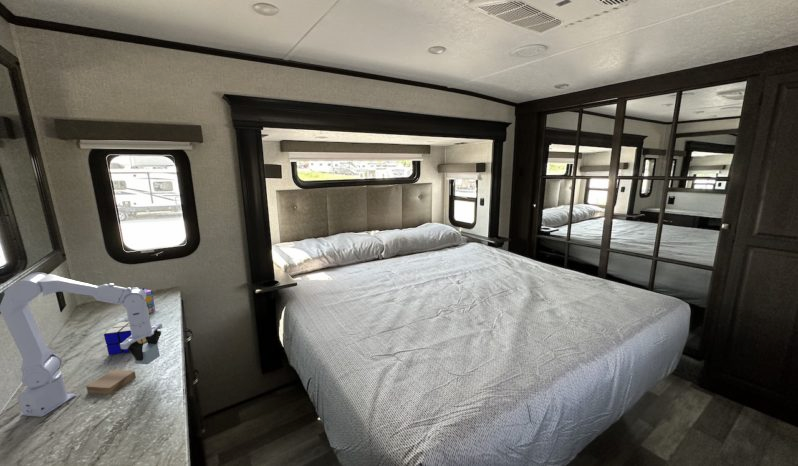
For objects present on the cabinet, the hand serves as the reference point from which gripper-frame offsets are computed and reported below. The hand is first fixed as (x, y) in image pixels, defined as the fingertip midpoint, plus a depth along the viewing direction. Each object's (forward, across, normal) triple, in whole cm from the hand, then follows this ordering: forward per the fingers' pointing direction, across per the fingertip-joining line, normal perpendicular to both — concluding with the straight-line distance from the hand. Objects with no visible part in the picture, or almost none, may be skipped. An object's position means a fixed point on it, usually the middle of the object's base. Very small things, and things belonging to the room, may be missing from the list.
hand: (146, 355), depth 113 cm
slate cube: (+2, 0, 0) cm, 2 cm away
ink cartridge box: (+9, +45, +49) cm, 67 cm away
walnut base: (+9, -6, +9) cm, 14 cm away
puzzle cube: (+9, +16, +27) cm, 32 cm away
